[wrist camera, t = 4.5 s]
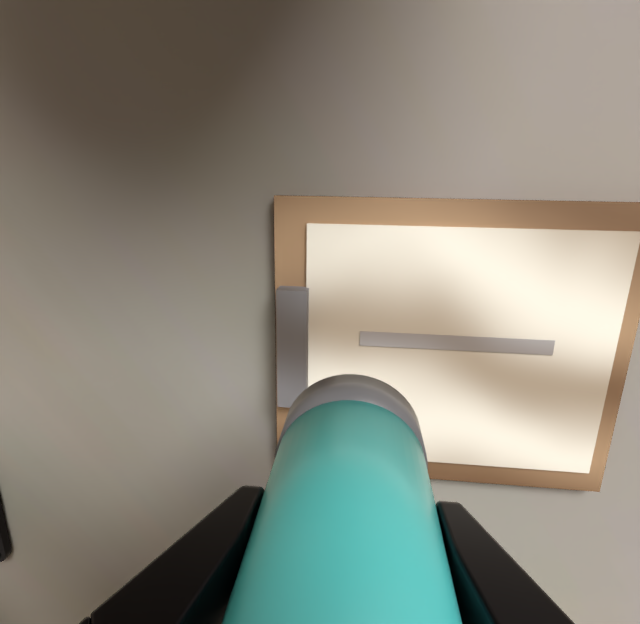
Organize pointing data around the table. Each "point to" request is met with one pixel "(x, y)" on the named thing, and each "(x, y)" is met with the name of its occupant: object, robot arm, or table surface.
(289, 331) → the clipboard
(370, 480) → the marker
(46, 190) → the table surface
